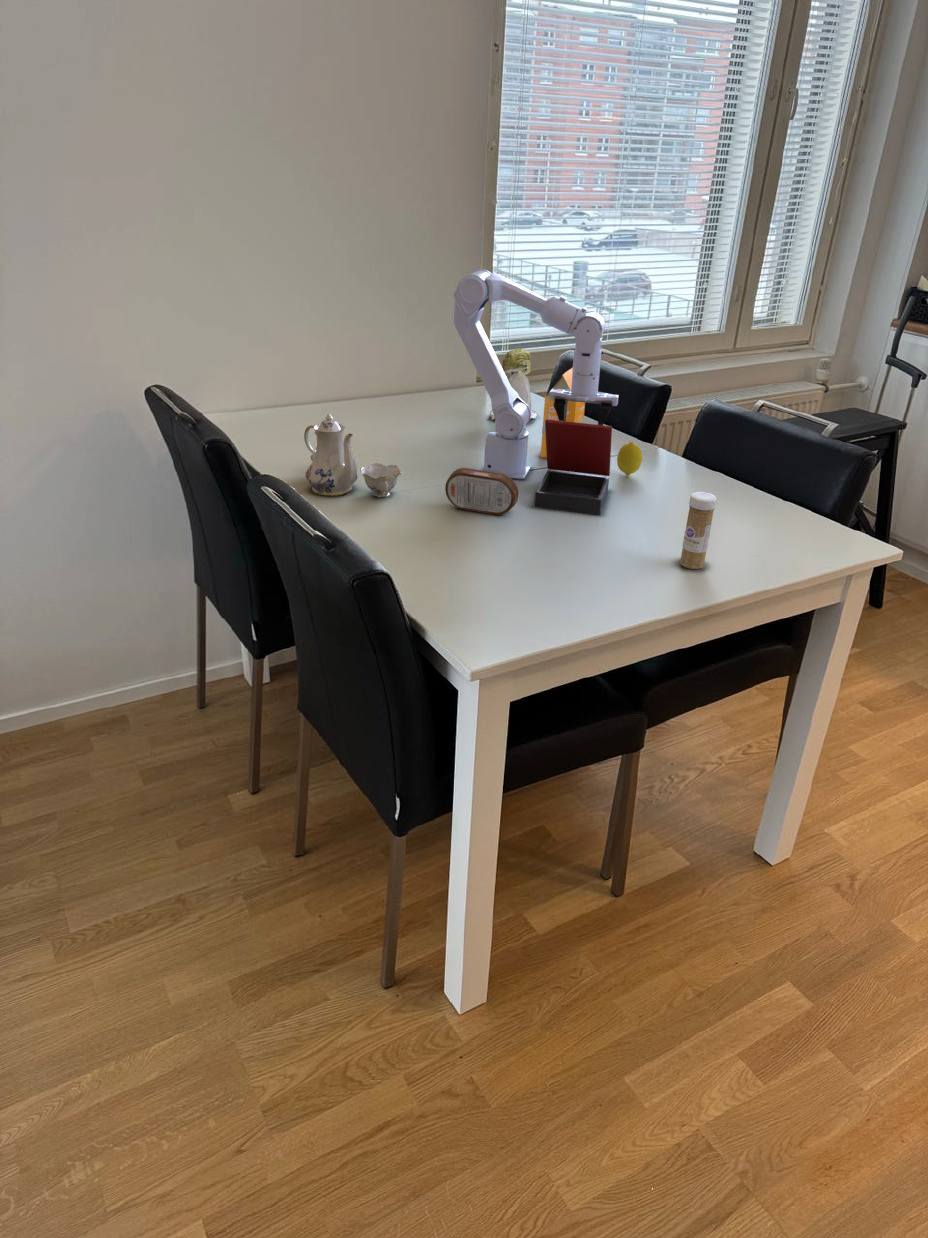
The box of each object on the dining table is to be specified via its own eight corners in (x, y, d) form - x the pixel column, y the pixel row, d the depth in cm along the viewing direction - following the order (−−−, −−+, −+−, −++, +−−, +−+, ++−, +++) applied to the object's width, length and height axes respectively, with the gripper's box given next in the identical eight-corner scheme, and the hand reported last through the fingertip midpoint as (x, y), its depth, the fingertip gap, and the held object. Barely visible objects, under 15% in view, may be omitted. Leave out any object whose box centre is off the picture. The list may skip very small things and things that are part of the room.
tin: (517, 513, 186) (520, 474, 182) (513, 519, 183) (515, 479, 179) (448, 502, 190) (449, 464, 186) (443, 508, 187) (443, 468, 183)
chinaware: (415, 501, 194) (421, 423, 188) (355, 513, 183) (360, 431, 176) (330, 468, 211) (333, 396, 204) (270, 478, 199) (272, 401, 192)
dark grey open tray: (599, 515, 187) (601, 500, 185) (534, 507, 190) (535, 492, 188) (607, 491, 199) (609, 476, 198) (546, 483, 202) (547, 469, 200)
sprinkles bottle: (674, 564, 167) (685, 495, 160) (686, 557, 170) (698, 489, 163) (697, 572, 164) (709, 502, 158) (709, 564, 167) (721, 495, 161)
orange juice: (539, 457, 218) (546, 372, 209) (550, 446, 225) (557, 364, 216) (571, 461, 216) (579, 376, 206) (581, 451, 223) (589, 368, 213)
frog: (546, 418, 247) (552, 349, 238) (518, 427, 238) (523, 356, 230) (511, 409, 254) (516, 341, 245) (482, 418, 245) (486, 348, 236)
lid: (611, 428, 184) (614, 414, 186) (544, 422, 187) (548, 407, 188) (609, 476, 197) (611, 462, 199) (547, 469, 200) (550, 455, 202)
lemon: (639, 480, 206) (643, 446, 202) (614, 478, 207) (618, 444, 203) (640, 472, 211) (644, 439, 207) (615, 470, 211) (619, 436, 208)
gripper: (548, 373, 191) (544, 437, 198) (618, 379, 188) (611, 443, 195) (554, 366, 197) (550, 427, 204) (621, 371, 194) (615, 434, 201)
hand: (580, 435), depth 200 cm, fingers open, 7 cm apart
